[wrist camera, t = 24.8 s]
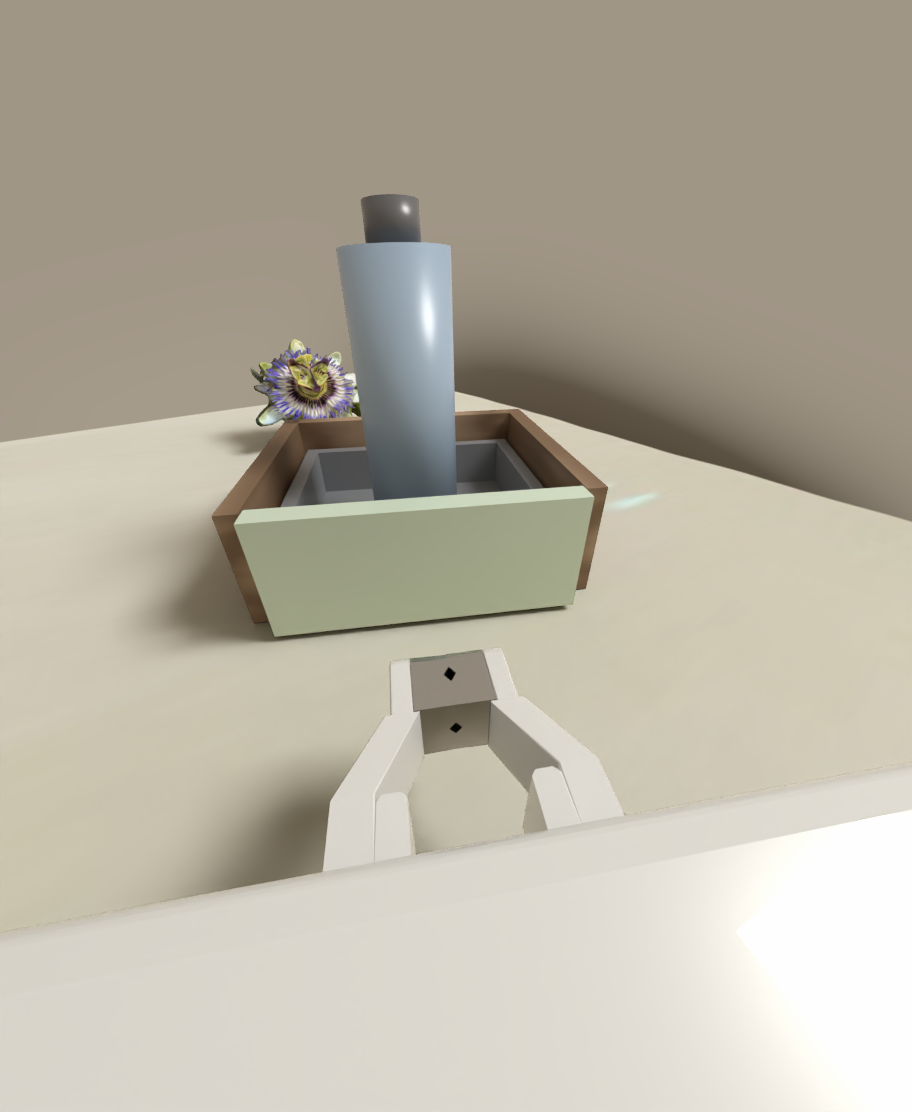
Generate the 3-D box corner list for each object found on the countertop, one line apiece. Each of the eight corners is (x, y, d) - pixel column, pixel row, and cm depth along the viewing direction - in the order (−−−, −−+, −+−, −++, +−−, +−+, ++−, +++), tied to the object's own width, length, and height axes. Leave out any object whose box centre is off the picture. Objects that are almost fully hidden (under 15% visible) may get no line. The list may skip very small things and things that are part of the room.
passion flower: (334, 494, 45) (248, 421, 35) (299, 452, 51) (218, 379, 41) (405, 426, 45) (340, 334, 35) (362, 392, 51) (296, 305, 41)
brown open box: (253, 623, 20) (211, 516, 16) (304, 495, 32) (286, 419, 29) (585, 588, 22) (607, 487, 18) (513, 481, 34) (518, 409, 31)
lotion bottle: (378, 551, 23) (322, 186, 14) (378, 512, 27) (334, 211, 18) (464, 542, 23) (459, 186, 15) (450, 505, 28) (440, 211, 19)
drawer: (275, 638, 19) (233, 524, 15) (319, 500, 31) (301, 420, 28) (572, 605, 20) (594, 496, 17) (501, 487, 33) (506, 410, 29)
